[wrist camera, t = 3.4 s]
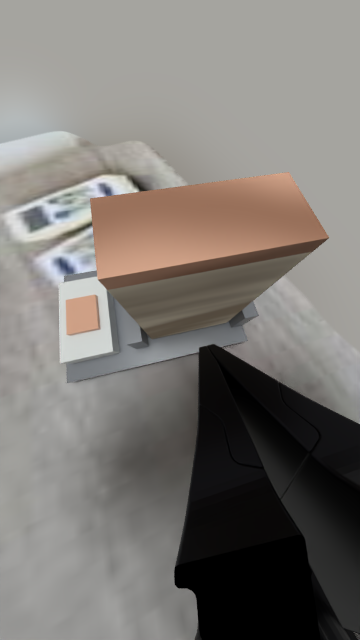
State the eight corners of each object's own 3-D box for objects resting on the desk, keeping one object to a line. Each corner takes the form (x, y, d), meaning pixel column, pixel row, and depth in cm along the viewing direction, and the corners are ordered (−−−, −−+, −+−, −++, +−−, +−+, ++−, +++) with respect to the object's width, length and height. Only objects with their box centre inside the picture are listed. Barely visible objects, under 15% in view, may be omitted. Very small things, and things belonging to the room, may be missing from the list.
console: (242, 342, 15) (274, 331, 10) (74, 381, 14) (19, 391, 9) (213, 255, 18) (227, 215, 13) (70, 281, 16) (27, 246, 12)
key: (226, 322, 14) (329, 237, 5) (151, 339, 14) (97, 279, 4) (217, 294, 15) (288, 172, 6) (146, 308, 14) (90, 198, 5)
